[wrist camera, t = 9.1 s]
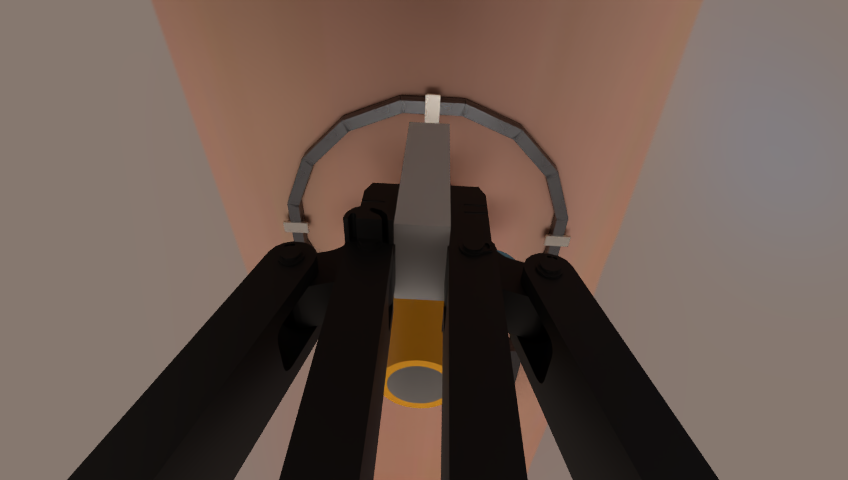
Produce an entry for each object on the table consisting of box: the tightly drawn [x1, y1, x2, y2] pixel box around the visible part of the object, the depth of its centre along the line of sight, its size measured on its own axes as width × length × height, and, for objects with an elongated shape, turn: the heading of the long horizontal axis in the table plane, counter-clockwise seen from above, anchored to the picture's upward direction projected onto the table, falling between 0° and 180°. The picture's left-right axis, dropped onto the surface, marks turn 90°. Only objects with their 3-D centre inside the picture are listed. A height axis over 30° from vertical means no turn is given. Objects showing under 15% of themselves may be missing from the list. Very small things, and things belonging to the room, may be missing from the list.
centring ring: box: [283, 93, 571, 256], centre depth 35 cm, size 21×21×1 cm
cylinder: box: [384, 250, 515, 408], centre depth 29 cm, size 12×10×15 cm
